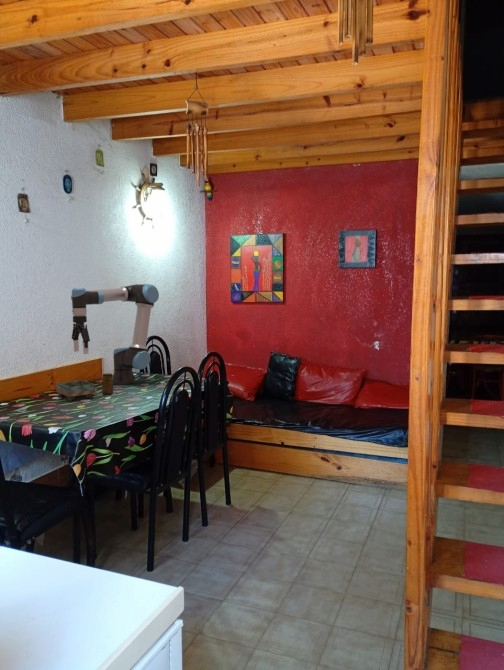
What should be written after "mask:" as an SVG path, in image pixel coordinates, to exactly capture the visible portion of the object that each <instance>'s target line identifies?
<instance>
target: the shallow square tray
mask: <svg viewBox="0 0 504 670" xmlns="http://www.w3.org/2000/svg"><path fill="white" fill-rule="evenodd" d="M56 393H57V394H58V397H59V398H64V397H65V396H66V397H68V398H67V400H68V401H70V402H74V401H75V397H76V396H78V397H79V396H83V395H87V396H86V397H87V398H88V399H93V398H94V396H95V395H94V394H96V383H91V382H88V381H85V380H83V379H82V380H76V381H75V380H73V381H72V380H71V381H65V382H58V383H56Z"/></svg>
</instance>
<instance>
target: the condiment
mask: <svg viewBox="0 0 504 670" xmlns="http://www.w3.org/2000/svg"><path fill="white" fill-rule="evenodd" d="M112 377H113V374H112V373H110V372H109V373H108V372H107V373H103V374H102V379H101V380H102V381H101V383H102V384H101V389H102V390H101V391H102V392H101V393H100V395H101V396H104V397H108V396H109V397H110V396H116V395H118V394H117V393H114V384H113V378H112Z"/></svg>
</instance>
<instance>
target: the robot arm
mask: <svg viewBox="0 0 504 670" xmlns="http://www.w3.org/2000/svg"><path fill="white" fill-rule="evenodd" d="M70 297H71V298H70V300H71V304H72V305H71V306H72V310H71V312H72V323H73V324H72V332H71V339H72V341H73V352H74V353H75V352H77V353H78V352H80V345H79V344H80V343H79V340H80V338H79V336H80V335H81V338H82V352H83V355H87V354H88V355H89V353H90V352H89V342H90V341H91V339H90V335H89V330H88V324H87V321H88V320H87V312H88V311H87V305H91V306H92V305H102V304H104V302H105V303H106V302H107V303H108V302H117V301H118V302H119V301H120V302H123V303H124V302H129V303H130V302H131V303H135V306H136V312H135V313H136V315H135V322H134V327H133V328H134V330H133V335H132V343H131V345H130V346H128V347H119V348H115V349H114V350H113V374H112V378H113V385H118V386H120V385H121V386H125V385H126V386H127V385H132V384H135V383H136V377H135V375H134V372H133V369H134V370H144V369H145V368H147V367H148V366H149V365H150V362H151V355H150V353H149V352H148V349H149V348H148V347H147V340H148V334H149V325H150V319H151V312H152V311H151V310H152V309H153V308H154V307H155V303H156V302H157V301H159V297H160V292H159V290H158V288H157V286H155V285H153V284H150V283H149V284H148V283H146V284H143V283H142V284H132V285H126V286H120V287H119V288H111V289H110V288H109V289H96V290H95V289H94V290H87V289H86V288H84V287H83V288H82V287H81V288H80V287H79V288H78V287H77V288H72V289H71V296H70ZM85 323H86V324H85Z"/></svg>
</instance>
